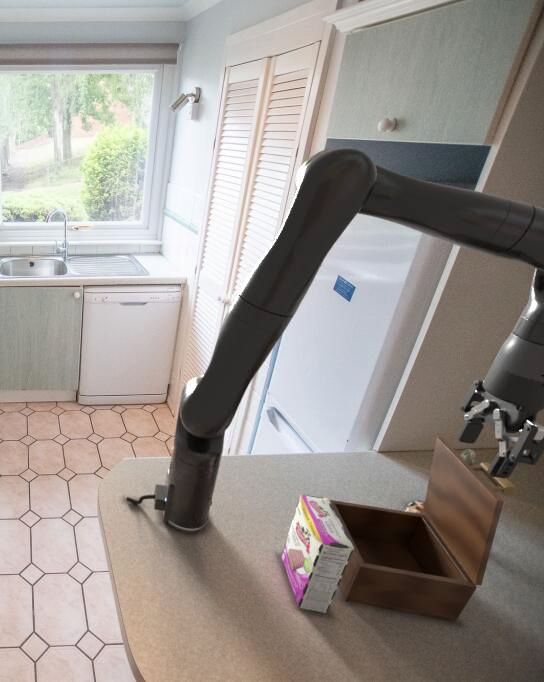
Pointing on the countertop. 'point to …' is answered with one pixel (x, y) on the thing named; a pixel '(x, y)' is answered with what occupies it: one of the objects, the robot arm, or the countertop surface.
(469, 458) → the plant with pod
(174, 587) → the countertop surface
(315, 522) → the candy bar box
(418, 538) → the chest
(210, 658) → the countertop surface
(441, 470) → the lid
